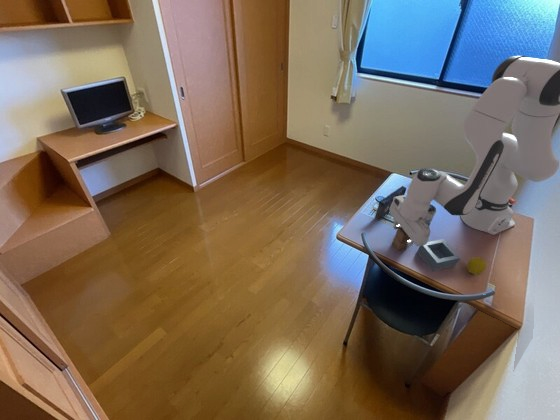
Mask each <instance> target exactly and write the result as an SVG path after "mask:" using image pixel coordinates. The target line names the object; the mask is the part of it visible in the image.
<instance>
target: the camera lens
mask: <svg viewBox="0 0 560 420" xmlns="http://www.w3.org/2000/svg"><path fill="white" fill-rule="evenodd" d="M436 212H437V208H436V207H435V206H434V205H432V204H431V203H430V207H429V210H428V212H427V214H426V216H425V218H424V219H423V220H424V221H425V223H426V224H428V225H429V224H430V223H431V222H432V221H433V219H434V216H435V215H436Z"/></svg>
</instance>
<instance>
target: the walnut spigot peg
mask: <svg viewBox="0 0 560 420" xmlns="http://www.w3.org/2000/svg"><path fill="white" fill-rule="evenodd" d="M410 239H411V238H410V237H409V236H408V235H407V233H406V232H405V231H404V230H403V228H402V227H401V226H400V227H398V229H396V232H395V235H394V238H393V240H392V242H391V246H392V247H393V248H394V250H395V251H396V252H400V251H405V250H407V247H408V245H407V244H406V243H407V241H408V240H409V241H410Z"/></svg>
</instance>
